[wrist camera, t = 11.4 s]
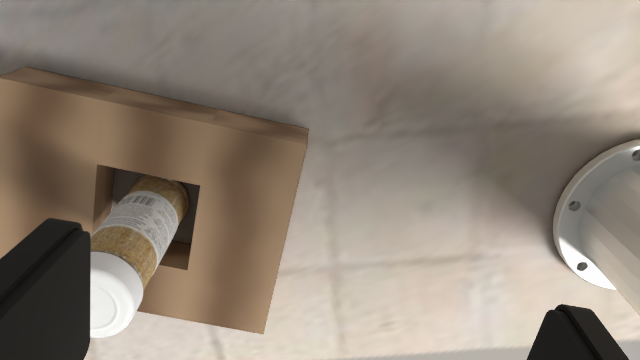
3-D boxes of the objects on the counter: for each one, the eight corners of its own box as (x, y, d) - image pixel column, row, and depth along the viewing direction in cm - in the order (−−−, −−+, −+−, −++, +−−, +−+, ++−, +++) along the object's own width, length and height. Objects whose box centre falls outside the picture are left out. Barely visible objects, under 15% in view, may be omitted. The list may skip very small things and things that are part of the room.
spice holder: (308, 129, 37) (307, 145, 34) (267, 306, 43) (263, 334, 40) (25, 66, 36) (-4, 77, 32) (24, 260, 42) (-1, 285, 38)
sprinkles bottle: (128, 217, 40) (42, 332, 28) (135, 164, 38) (46, 261, 26) (186, 230, 41) (127, 348, 28) (195, 178, 39) (136, 280, 26)
